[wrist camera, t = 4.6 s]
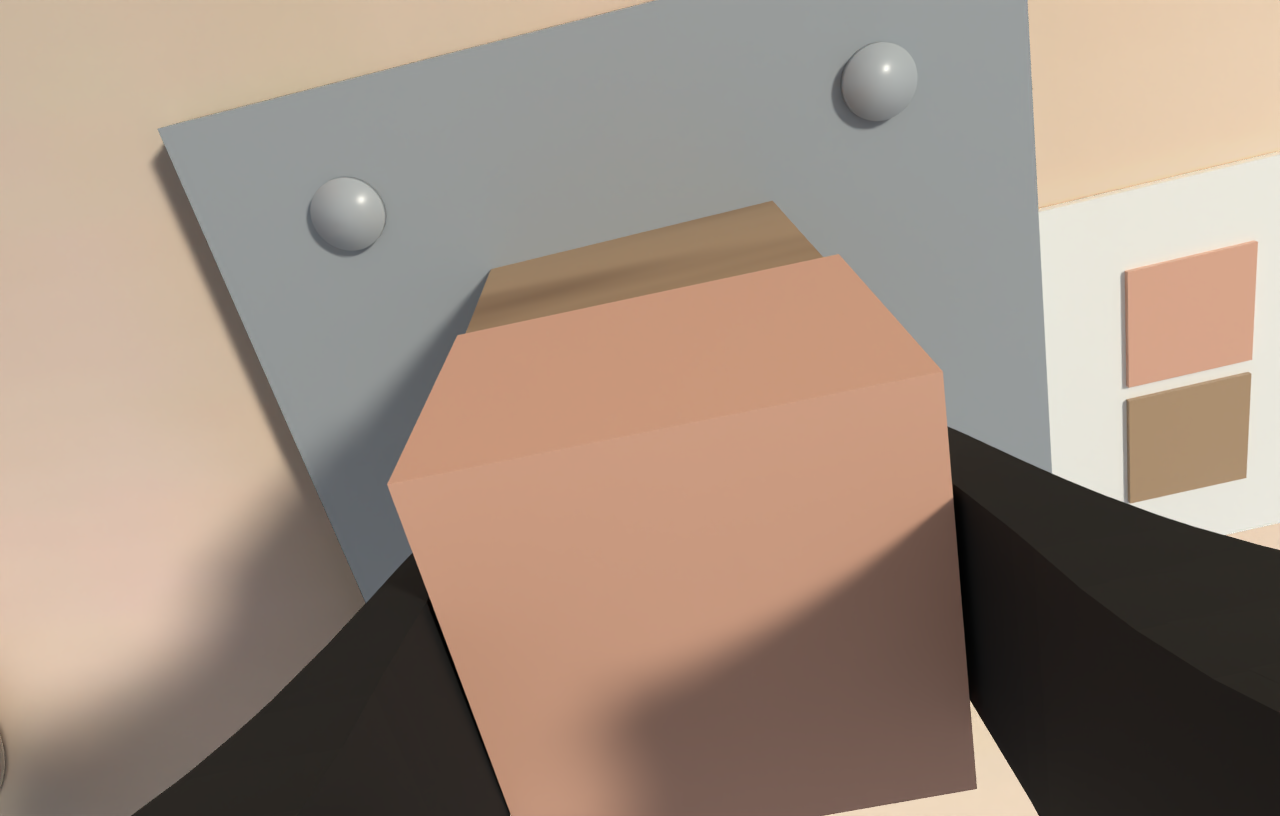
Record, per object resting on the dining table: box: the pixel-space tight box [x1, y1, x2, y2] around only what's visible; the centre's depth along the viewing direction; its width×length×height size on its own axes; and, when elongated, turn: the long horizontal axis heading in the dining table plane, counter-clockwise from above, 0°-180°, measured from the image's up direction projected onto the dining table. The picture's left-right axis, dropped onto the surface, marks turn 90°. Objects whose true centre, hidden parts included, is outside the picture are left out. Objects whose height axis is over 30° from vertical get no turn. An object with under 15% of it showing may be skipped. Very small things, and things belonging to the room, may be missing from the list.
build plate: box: [158, 0, 1052, 603], centre depth 17 cm, size 14×14×1 cm
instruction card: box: [1038, 151, 1280, 535], centre depth 18 cm, size 8×6×1 cm
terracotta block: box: [387, 254, 977, 816], centre depth 11 cm, size 5×5×4 cm
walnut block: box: [466, 201, 823, 333], centre depth 15 cm, size 5×5×4 cm
